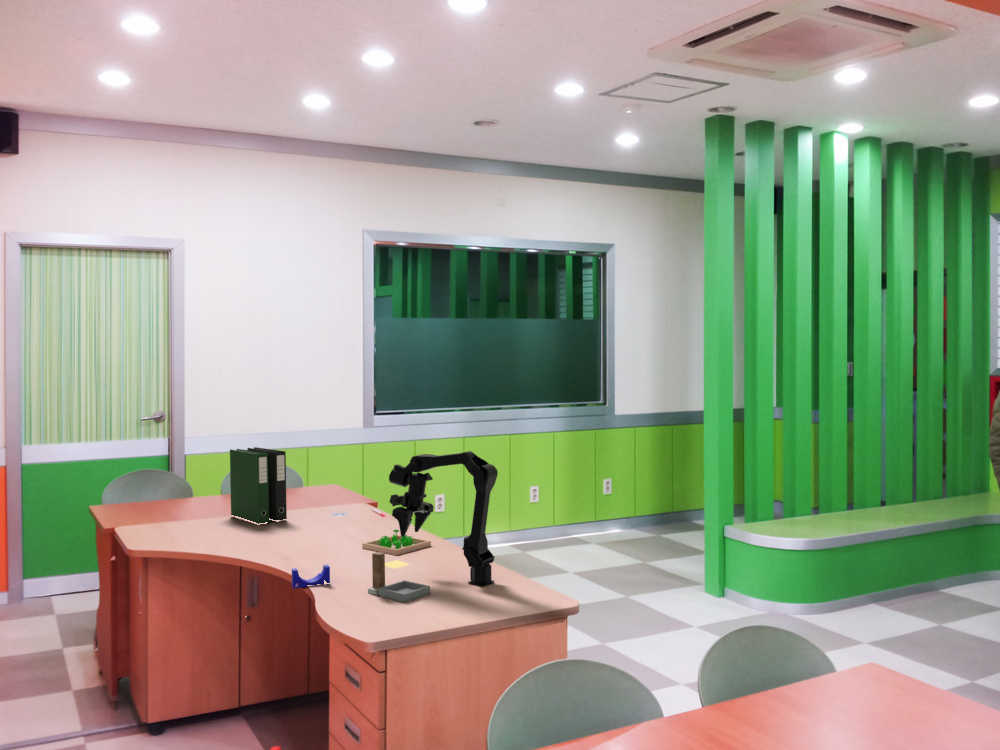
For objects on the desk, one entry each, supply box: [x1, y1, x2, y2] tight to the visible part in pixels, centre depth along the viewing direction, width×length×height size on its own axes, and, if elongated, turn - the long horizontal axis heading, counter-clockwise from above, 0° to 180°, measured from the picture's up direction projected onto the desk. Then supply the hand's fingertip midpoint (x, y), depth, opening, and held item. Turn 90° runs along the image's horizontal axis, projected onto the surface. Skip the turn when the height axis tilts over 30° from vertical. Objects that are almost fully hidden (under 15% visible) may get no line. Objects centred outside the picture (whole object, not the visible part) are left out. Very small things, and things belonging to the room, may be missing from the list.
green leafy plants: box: [377, 529, 415, 549], centre depth 336 cm, size 15×15×7 cm
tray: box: [377, 579, 431, 603], centre depth 270 cm, size 12×12×2 cm
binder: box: [229, 446, 288, 524], centre depth 394 cm, size 27×15×32 cm, turn 45°
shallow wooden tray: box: [361, 534, 432, 556], centre depth 335 cm, size 19×19×2 cm
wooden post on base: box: [367, 551, 387, 596], centre depth 273 cm, size 6×4×12 cm, turn 141°
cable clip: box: [291, 564, 331, 589], centre depth 283 cm, size 12×4×6 cm, turn 114°
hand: (409, 534), depth 294 cm, fingers open, 9 cm apart
